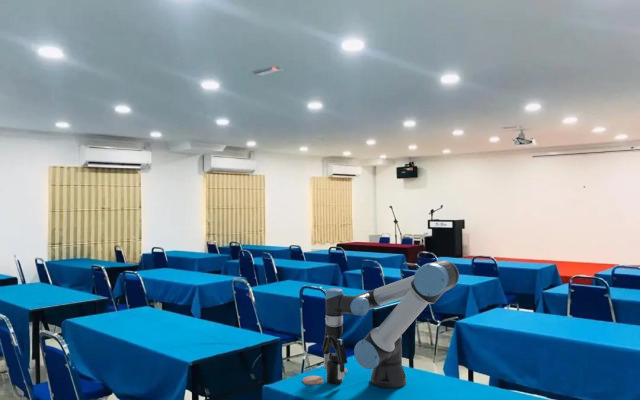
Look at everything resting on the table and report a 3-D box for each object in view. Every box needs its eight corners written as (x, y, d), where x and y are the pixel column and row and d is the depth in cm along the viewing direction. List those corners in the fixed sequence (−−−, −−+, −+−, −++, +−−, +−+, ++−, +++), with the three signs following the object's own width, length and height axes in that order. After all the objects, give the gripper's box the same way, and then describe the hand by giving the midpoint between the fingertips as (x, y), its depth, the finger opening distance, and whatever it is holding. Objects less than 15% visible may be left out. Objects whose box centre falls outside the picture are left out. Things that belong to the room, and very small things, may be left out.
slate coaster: (350, 373, 222) (350, 371, 222) (333, 376, 218) (333, 374, 218) (341, 367, 230) (341, 365, 230) (324, 370, 226) (324, 368, 226)
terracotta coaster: (326, 383, 210) (326, 381, 210) (307, 386, 206) (307, 384, 206) (318, 376, 218) (318, 374, 218) (299, 379, 214) (299, 377, 214)
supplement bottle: (341, 385, 207) (340, 357, 207) (325, 384, 208) (325, 356, 208) (343, 379, 214) (343, 352, 214) (328, 378, 215) (328, 351, 215)
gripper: (314, 319, 221) (314, 365, 221) (339, 332, 198) (339, 385, 198) (329, 317, 224) (329, 363, 224) (355, 330, 201) (355, 382, 202)
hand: (333, 373), depth 211 cm, fingers open, 13 cm apart
